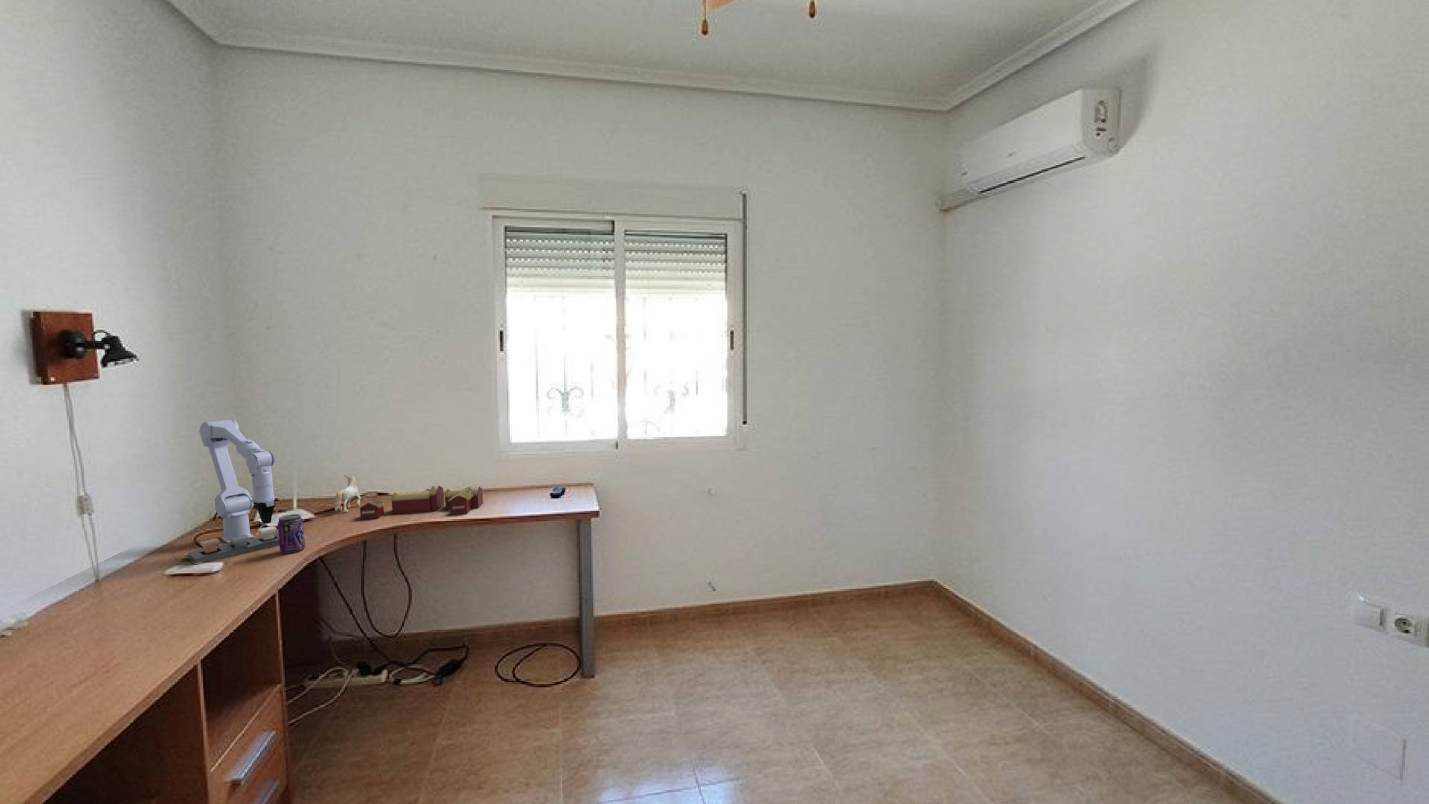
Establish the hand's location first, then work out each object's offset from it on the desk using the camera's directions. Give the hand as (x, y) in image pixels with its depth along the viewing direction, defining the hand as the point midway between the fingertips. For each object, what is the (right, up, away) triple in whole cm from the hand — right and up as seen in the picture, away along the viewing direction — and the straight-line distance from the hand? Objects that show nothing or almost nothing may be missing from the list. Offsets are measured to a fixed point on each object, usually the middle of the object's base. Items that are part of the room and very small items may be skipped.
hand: (266, 523), depth 213 cm
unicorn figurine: (-1, -4, +46) cm, 46 cm away
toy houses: (+37, -3, +39) cm, 54 cm away
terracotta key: (-10, -7, -12) cm, 17 cm away
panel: (-5, -8, -5) cm, 11 cm away
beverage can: (+14, -8, -7) cm, 18 cm away
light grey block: (-5, -7, -5) cm, 10 cm away
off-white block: (0, -5, +1) cm, 5 cm away
